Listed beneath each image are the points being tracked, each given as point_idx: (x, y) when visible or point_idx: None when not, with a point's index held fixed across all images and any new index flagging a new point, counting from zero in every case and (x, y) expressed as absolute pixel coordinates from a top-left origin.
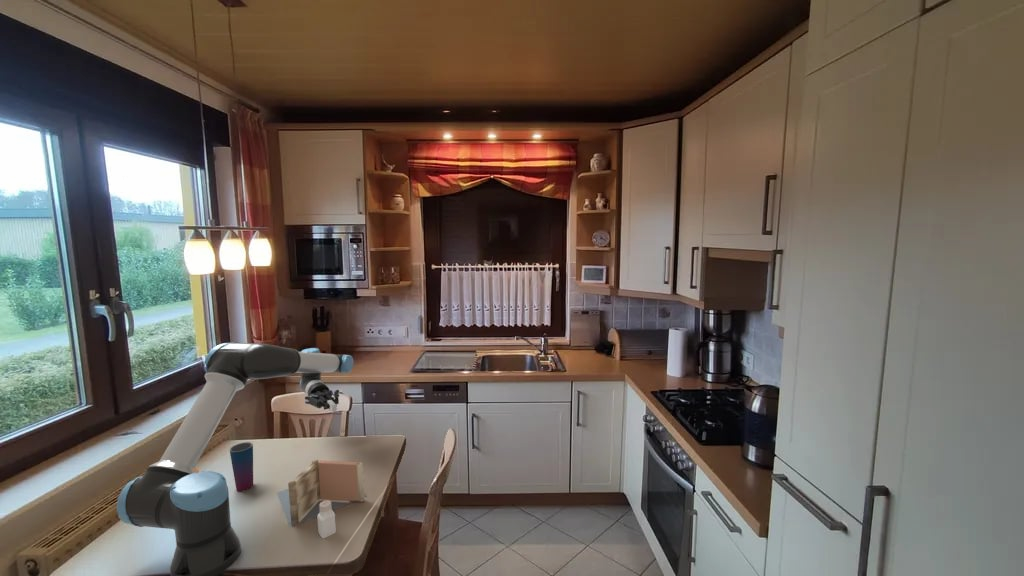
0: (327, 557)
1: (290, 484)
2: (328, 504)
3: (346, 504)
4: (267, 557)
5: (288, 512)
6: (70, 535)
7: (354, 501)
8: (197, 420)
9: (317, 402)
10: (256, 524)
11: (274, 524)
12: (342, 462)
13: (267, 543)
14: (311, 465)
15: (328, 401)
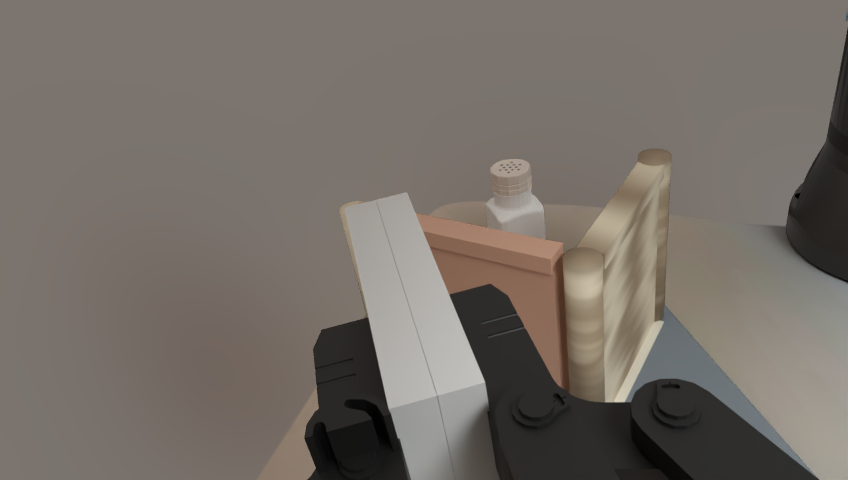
0: None
1: (657, 150)
2: (498, 164)
3: None
4: (686, 227)
5: (708, 374)
6: None
7: None
8: None
9: (724, 418)
10: (835, 352)
11: (742, 335)
12: (428, 225)
13: (717, 266)
14: (597, 241)
15: (453, 331)
